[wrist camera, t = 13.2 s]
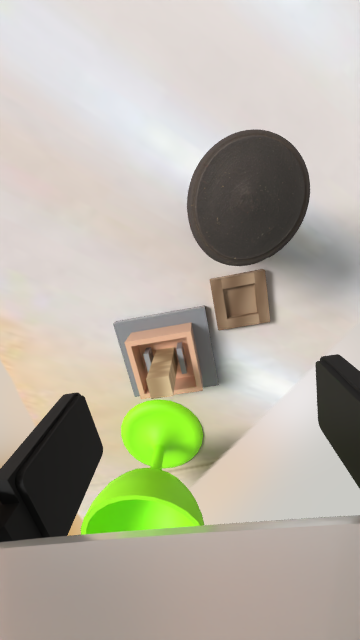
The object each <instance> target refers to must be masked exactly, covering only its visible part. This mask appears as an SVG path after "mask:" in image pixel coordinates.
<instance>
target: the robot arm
mask: <svg viewBox="0 0 360 640" xmlns="http://www.w3.org/2000/svg"><path fill="white" fill-rule="evenodd" d="M316 382H317V406H318V421H319V426H320V428H321V430H322V432H323V433H324V435H325V436H326V438H327V439H328V441H329V442H330V444H331V445H332V447H333V449H334V450H335V452H336V453H337V454H338V456H339V458H340V459H341V461H342V462H343V464H344V465H345V467H346V468H347V470H348V472H349V473H350V475H351V476H352V478H353V479H354V480H355V482H356V484H357V485H358V487H359V488H360V371H359V370H357V369H356V368H355V367H354V366H353V365H351V364H350V363H349V362H348V361H346V360H345V359H344V358H343V357H341V356H340V355H330V356H323V357H321V358H320V361H317V362H316ZM102 453H103V446H102V443H101V440H100V438H99V435H98V432H97V429H96V427H95V424H94V421H93V419H92V416H91V413H90V410H89V408H88V405H87V402H86V400H85V397H84V396H81V395H80V394H79V393H71V394H65V395H63V396H62V397H61V398H60V399H59V400H58V402H57V403H56V404H55V405H54V406H53V408H52V409H51V410H50V411H49V412H48V413H47V415H46V416H45V417H44V418H43V419H42V421H41V422H40V423H39V424H38V425H37V426H36V428H35V429H34V430H33V431H32V432H31V434H30V435H29V436H28V437H27V438H26V439H25V441H24V442H23V443H22V444H21V445H20V446H19V448H18V449H17V450H16V451H15V452H14V454H13V455H12V456H11V457H10V458H9V459H8V461H7V462H6V463H5V464H4V466H2V468H1V469H0V640H360V515H358V516H337V517H320V518H304V519H290V520H276V521H260V522H245V523H232V524H218V525H203V526H189V527H175V528H162V529H149V530H135V531H122V532H110V533H97V534H85V535H74V536H67V535H68V533H69V530H70V528H71V525H72V523H73V521H74V519H75V516H76V514H77V512H78V509H79V507H80V505H81V503H82V500H83V498H84V496H85V493H86V491H87V489H88V486H89V484H90V482H91V479H92V477H93V475H94V473H95V470H96V468H97V466H98V463H99V461H100V459H101V456H102Z"/></svg>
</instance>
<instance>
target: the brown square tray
mask: <svg viewBox="0 0 360 640" xmlns="http://www.w3.org/2000/svg"><path fill="white" fill-rule="evenodd" d="M210 284H211V290H212V296H213V302H214V308H215V314H216V320H217V326H218V330H224V329H230V328H236V327H242V326H248V325H254V324H260V323H266V322H270V315H269V305H268V295H267V285H266V275H265V270H263V269H260V270H255V271H250V272H244V273H239V274H234V275H229V276H224V277H218V278H213V279H210Z"/></svg>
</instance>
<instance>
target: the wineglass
mask: <svg viewBox="0 0 360 640" xmlns="http://www.w3.org/2000/svg"><path fill="white" fill-rule="evenodd" d="M121 436H122V439H123V442H124V445H125V447H126V448H127V450H128V451H129V453H130V454H131V455H132V456H133V457H135V458H136V459H137V460H139V461H140V462H142V463H144V464H146V465H149V466H150V468H141V469H135V470H132V471H129V472H127V473H125V474H123V475H121V476H119V477H118V478H116V479H114V480H113V481H111V482H110V483H109V484H108V485H107V486H106V487H105V488H104V489H103V490H102V492H101V493H100V494H99V495H98V496H97V497H96V499H95V500H94V501H93V503H92V504H91V506H90V508H89V510H88V512H87V514H86V516H85V517H84V520H83V523H82V526H81V535H85V534H97V533H110V532H122V531H135V530H149V529H162V528H175V527H189V526H203V525H204V522H203V517H202V514H201V512H200V509H199V507H198V504H197V502H196V500H195V498H194V497H193V495H192V494H191V492H190V491H189V490H188V488H187V487H186V486H185V485H184V484H183V483H182V482H181V481H180V480H179V479H178V478H177V477H175V476H173V475H171V474H170V473H168V472H165V471H162V468H173V467H177V466H180V465H183V464H185V463H186V462H188V461H190V460H191V459H192V458H193V457H194V456H195V455H196V454H197V453H198V451H199V449H200V447H201V445H202V440H203V431H202V426H201V424H200V422H199V421H198V419H197V417H196V416H195V415H194V414H193V413H192V412H191V411H190V410H189V409H187V408H185V407H184V406H182V405H181V404H178V403H175V402H172V401H167V400H151V401H146V402H143V403H141V404H138V405H137V406H135V407H134V408H132V409H131V410H130V411H129V412H128V413H127V415H126V416H125V417H124V420H123V423H122V426H121Z"/></svg>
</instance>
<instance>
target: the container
mask: <svg viewBox="0 0 360 640" xmlns="http://www.w3.org/2000/svg"><path fill="white" fill-rule="evenodd" d="M309 197H310V181H309V174H308V170H307V167H306V165H305V162H304V160H303V158H302V157H301V155H300V153H299V152H298V151H297V149H296V148H295V147H294V146H293V145H292V144H291V143H290V142H289V141H287V140H286V139H285V138H283V137H281V136H280V135H277V134H275V133H272V132H269V131H265V130H245V131H241V132H237V133H234V134H232V135H230V136H228V137H226V138H224V139H222V140H221V141H219V142H218V143H217V144H215V145H214V146H213V147H212V148H211V149H210V150H209V151H208V152H207V153H206V154H205V155H204V157H203V158H202V159H201V161H200V162H199V164H198V166H197V168H196V169H195V171H194V174H193V176H192V179H191V182H190V186H189V190H188V198H187V212H188V219H189V224H190V228H191V231H192V233H193V236H194V238H195V240H196V241H197V243H198V245H199V246H200V247H201V249H202V250H203V251H204V252H205V253H206V254H207V255H208V256H209V257H211V258H212V259H214V260H216V261H218V262H220V263H223V264H226V265H232V266H245V265H251V264H255V263H258V262H260V261H262V260H264V259H266V258H268V257H271V256H272V255H274V254H275V253H277V252H278V251H279V250H281V249H282V248H283V247H284V246H285V245H286V244H287V243H288V242H289V241H290V240H291V239H292V237H293V236H294V235H295V233H296V232H297V230H298V229H299V227H300V225H301V223H302V221H303V219H304V217H305V214H306V211H307V207H308V203H309Z"/></svg>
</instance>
